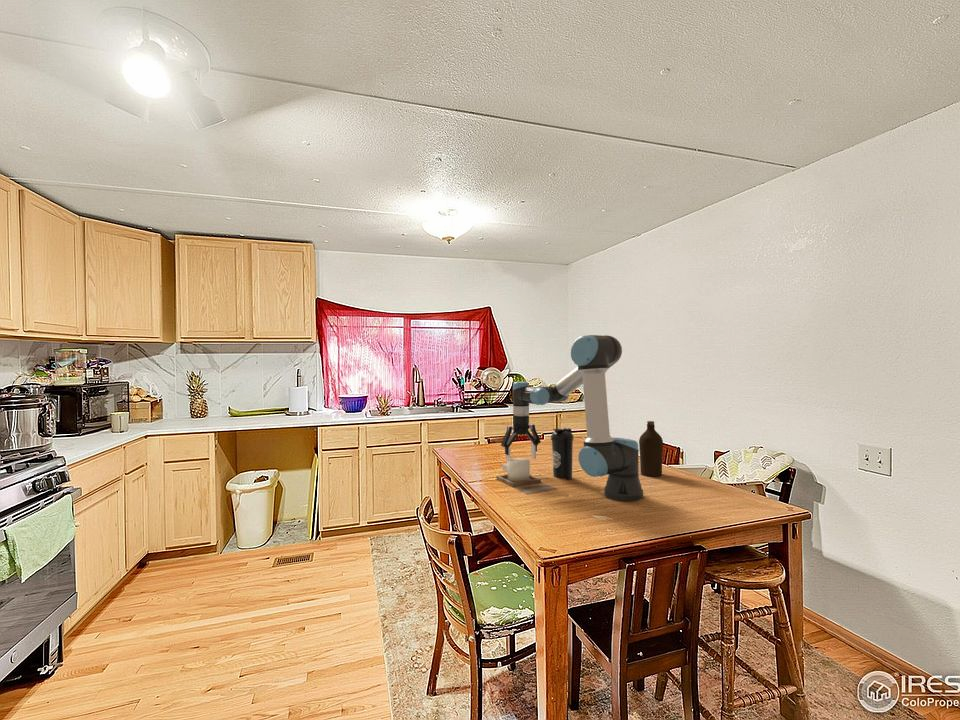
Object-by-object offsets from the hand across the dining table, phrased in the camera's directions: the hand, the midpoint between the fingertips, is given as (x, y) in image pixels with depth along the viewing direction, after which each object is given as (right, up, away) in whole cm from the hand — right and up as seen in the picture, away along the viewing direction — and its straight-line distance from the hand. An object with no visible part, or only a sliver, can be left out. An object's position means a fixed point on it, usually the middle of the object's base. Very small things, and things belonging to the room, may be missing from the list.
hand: (521, 460), depth 222 cm
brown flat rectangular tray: (+1, -8, -15) cm, 17 cm away
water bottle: (+19, -8, -3) cm, 21 cm away
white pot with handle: (-4, -7, -7) cm, 11 cm away
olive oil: (+61, -7, +1) cm, 62 cm away
